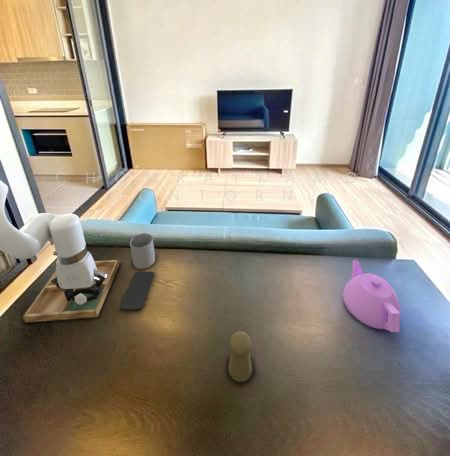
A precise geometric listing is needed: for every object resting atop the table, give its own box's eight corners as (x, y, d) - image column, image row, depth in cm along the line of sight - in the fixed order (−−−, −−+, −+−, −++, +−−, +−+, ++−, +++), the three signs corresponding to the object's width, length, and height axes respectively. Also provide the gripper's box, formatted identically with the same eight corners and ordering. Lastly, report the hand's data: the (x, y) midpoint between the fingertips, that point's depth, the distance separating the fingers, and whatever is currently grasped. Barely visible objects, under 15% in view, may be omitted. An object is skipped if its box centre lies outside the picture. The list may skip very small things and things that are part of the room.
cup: (146, 250, 105) (143, 230, 101) (159, 258, 100) (157, 238, 96) (129, 262, 98) (125, 242, 95) (142, 272, 94) (138, 251, 90)
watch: (68, 304, 79) (66, 296, 78) (77, 291, 84) (75, 283, 82) (92, 305, 79) (90, 297, 78) (100, 292, 83) (98, 284, 82)
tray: (25, 322, 76) (22, 316, 75) (62, 268, 96) (60, 263, 95) (97, 317, 77) (96, 311, 76) (119, 264, 97) (118, 259, 96)
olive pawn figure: (239, 349, 68) (239, 321, 64) (256, 368, 64) (258, 339, 60) (223, 367, 64) (223, 338, 60) (241, 388, 60) (241, 358, 56)
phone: (118, 308, 79) (135, 271, 93) (118, 310, 79) (135, 272, 93) (141, 309, 79) (154, 271, 93) (141, 311, 79) (155, 273, 93)
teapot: (419, 343, 69) (431, 312, 65) (365, 347, 68) (374, 316, 64) (371, 279, 90) (378, 252, 86) (329, 281, 89) (334, 254, 85)
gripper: (34, 264, 71) (49, 309, 77) (97, 261, 72) (107, 305, 78) (49, 246, 78) (62, 288, 84) (107, 243, 79) (115, 285, 85)
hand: (84, 296), depth 81 cm, fingers closed on watch, 7 cm apart
